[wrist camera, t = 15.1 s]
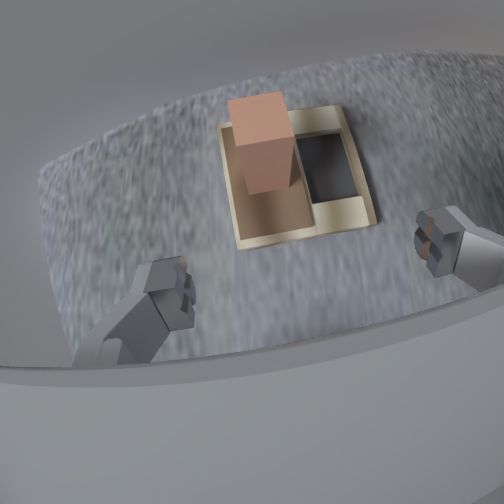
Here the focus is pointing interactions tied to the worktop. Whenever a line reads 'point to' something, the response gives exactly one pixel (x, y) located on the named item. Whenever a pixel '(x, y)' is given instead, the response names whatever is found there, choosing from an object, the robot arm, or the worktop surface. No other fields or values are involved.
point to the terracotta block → (263, 140)
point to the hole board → (302, 185)
